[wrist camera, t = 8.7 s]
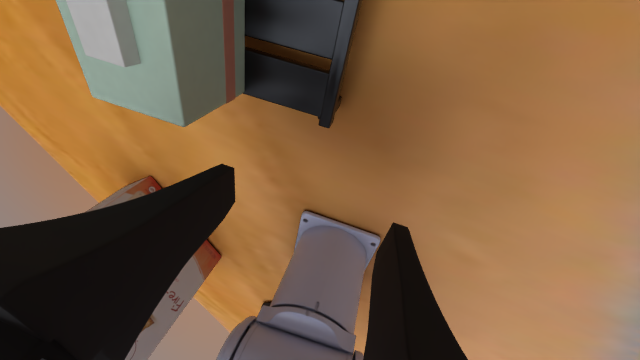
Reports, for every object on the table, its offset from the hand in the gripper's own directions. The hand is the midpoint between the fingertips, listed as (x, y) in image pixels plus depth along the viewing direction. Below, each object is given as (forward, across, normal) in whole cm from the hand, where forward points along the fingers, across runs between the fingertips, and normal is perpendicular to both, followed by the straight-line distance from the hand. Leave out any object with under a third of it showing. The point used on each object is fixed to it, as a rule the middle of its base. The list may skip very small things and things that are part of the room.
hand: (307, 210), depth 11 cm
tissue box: (+6, +9, -6) cm, 12 cm away
